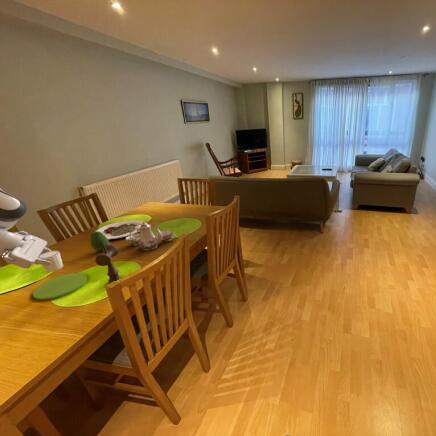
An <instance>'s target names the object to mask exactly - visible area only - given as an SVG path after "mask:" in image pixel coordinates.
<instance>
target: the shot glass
mask: <svg viewBox="0 0 436 436" xmlns="http://www.w3.org/2000/svg"><path fill="white" fill-rule="evenodd" d="M38 258H41V259H42V260H50V261H51V263H50V264H49V266H46V265H41V266H42V268H44V270H45V272H46V273H52V272H56V271H58V270H61V269H62V268H63V267H64V264H63V259H62V256H61V253H60V251H59V250H51V251H49V252H46V253H40V255H39V256H38Z"/></svg>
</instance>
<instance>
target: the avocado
mask: <svg viewBox="0 0 436 436" xmlns="http://www.w3.org/2000/svg"><path fill="white" fill-rule="evenodd" d="M95 231H96V232H95ZM95 231H93V232H92V233H91V235H90V246H91V247H92V249H93V250H95V251H97V252H103V246H102V243H104V245H105V246H107V245H110V240H109V239H107V238H106V236H105V235H103V234H102V233H101V232H98V231H97V230H95Z"/></svg>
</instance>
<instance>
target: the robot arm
mask: <svg viewBox="0 0 436 436" xmlns="http://www.w3.org/2000/svg"><path fill="white" fill-rule="evenodd" d="M27 211H28V207H27V205H26V202H24V201H23V200H22V199H21V198H19V197H18V196H15V195H13V194H11V193H9V192H7V191H5V190H4V189H2V188H1V187H0V257H1V258H2V259H3V260H5V261H6V262H7V263H9V264H11V265H14V266H16V267H19V268H22V269H30V268H31V267H32V266H33V264H35V265H40V266H42V265H46V266H49V264H50V263H51V261H50V260H42V259H41V258H38V256H39V255H41V254H43V253H46V252H49V251H52V250H51V249H50V248H49V247H46V246H47V245H48V242H47V241H46V240H45V239H42V238H40V237H38V236H35V235H33V234H29V233H28V232H27V231H23V230H22V231H21V230H19V231H15V232H11V231H8V230H10V229H12V228H13V227H14V226H15V225H16V224H17V223H18V222H19V220H20V219H21V218H22V217H24V215H25V214H26V213H27Z"/></svg>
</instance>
